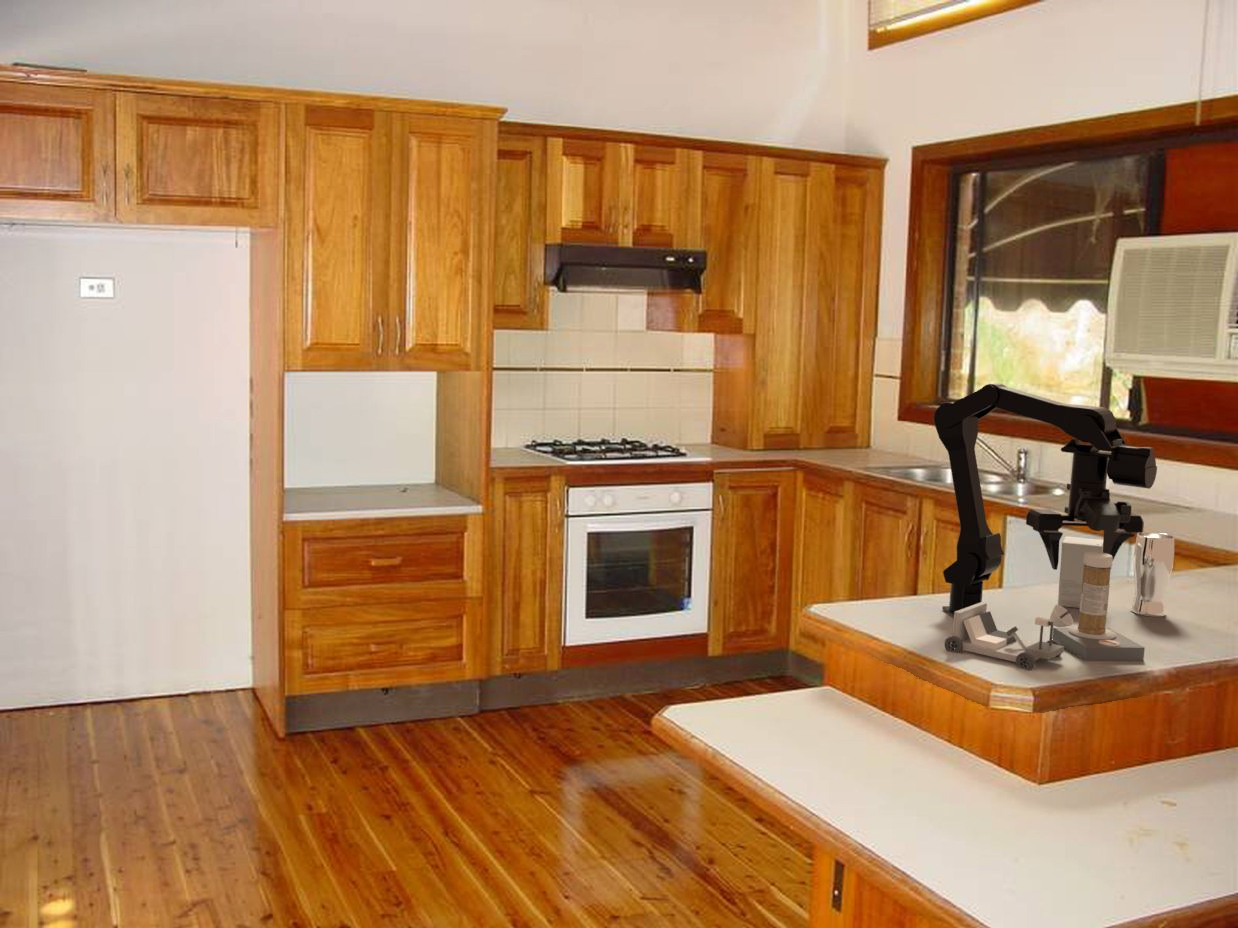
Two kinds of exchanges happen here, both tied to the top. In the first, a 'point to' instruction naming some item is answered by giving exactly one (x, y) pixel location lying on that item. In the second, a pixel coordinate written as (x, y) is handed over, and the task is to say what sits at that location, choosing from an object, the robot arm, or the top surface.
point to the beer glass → (1152, 572)
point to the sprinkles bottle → (1095, 592)
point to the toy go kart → (1004, 636)
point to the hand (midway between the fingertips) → (1080, 569)
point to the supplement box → (1074, 568)
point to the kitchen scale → (1099, 645)
